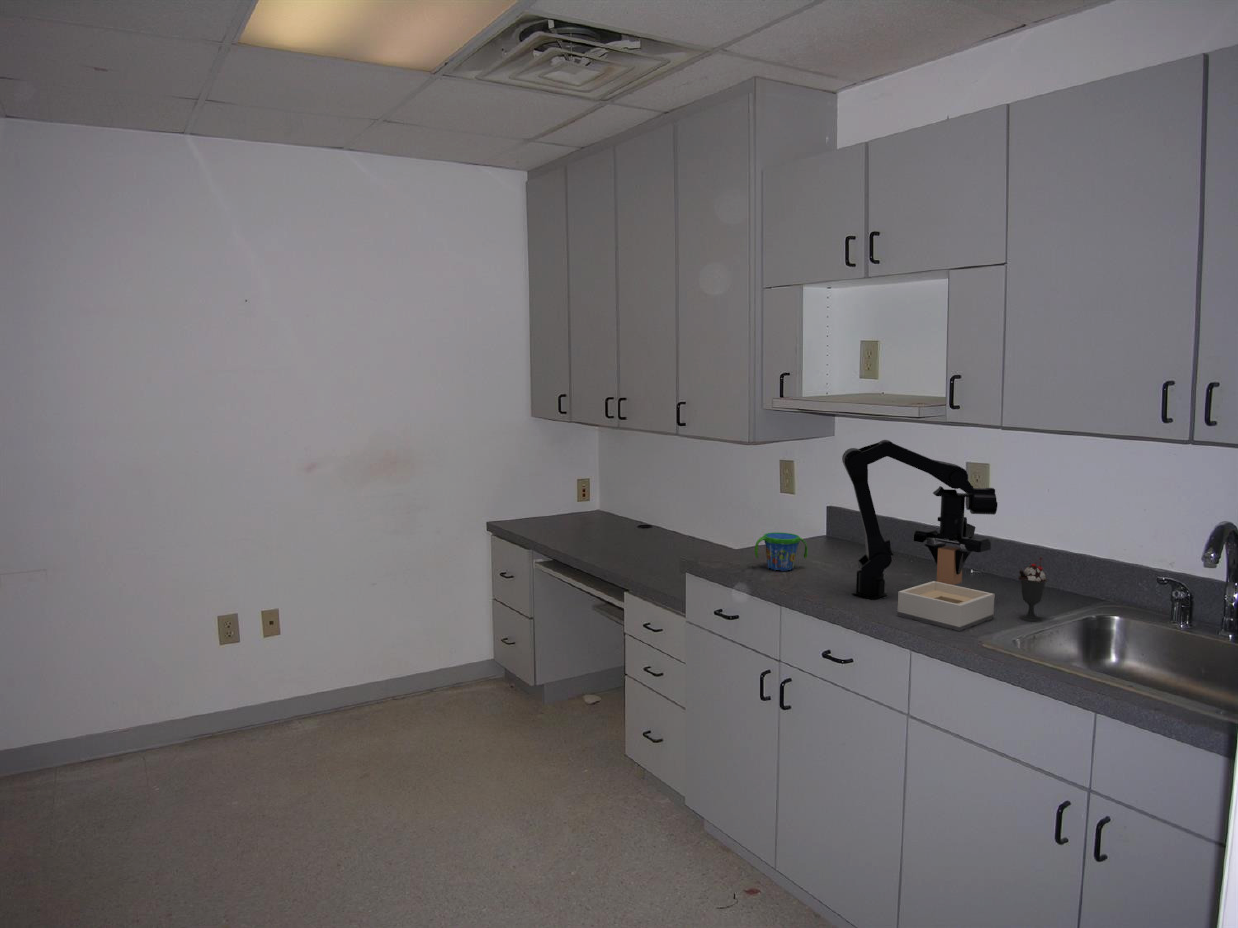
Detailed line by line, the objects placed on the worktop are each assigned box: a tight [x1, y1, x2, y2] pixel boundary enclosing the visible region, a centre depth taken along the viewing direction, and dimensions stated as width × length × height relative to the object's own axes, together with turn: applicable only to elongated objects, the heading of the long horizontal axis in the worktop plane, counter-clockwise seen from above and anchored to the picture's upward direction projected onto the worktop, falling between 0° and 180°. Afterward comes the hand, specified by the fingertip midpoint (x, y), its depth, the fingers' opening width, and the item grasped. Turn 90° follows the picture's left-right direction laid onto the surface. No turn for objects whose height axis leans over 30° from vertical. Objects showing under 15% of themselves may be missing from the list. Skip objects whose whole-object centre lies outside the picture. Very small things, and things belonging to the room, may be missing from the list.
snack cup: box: [754, 531, 809, 572], centre depth 258 cm, size 16×10×10 cm
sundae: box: [1017, 557, 1049, 623], centre depth 208 cm, size 7×7×15 cm
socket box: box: [896, 580, 996, 632], centre depth 210 cm, size 16×16×6 cm
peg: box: [936, 545, 963, 586], centre depth 225 cm, size 4×4×9 cm
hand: (949, 572), depth 225 cm, fingers closed on peg, 4 cm apart
